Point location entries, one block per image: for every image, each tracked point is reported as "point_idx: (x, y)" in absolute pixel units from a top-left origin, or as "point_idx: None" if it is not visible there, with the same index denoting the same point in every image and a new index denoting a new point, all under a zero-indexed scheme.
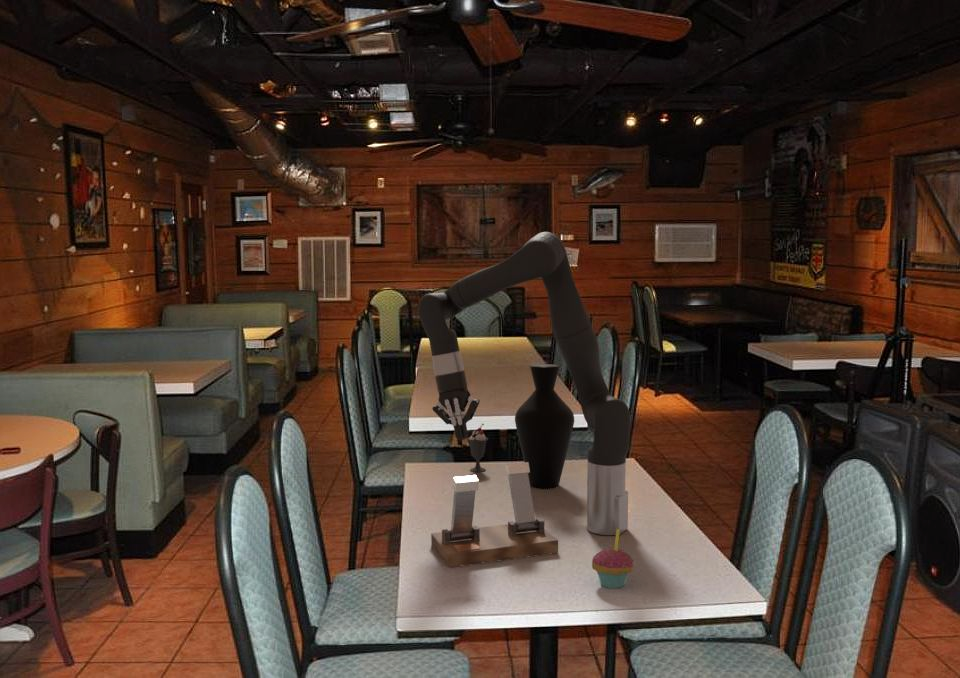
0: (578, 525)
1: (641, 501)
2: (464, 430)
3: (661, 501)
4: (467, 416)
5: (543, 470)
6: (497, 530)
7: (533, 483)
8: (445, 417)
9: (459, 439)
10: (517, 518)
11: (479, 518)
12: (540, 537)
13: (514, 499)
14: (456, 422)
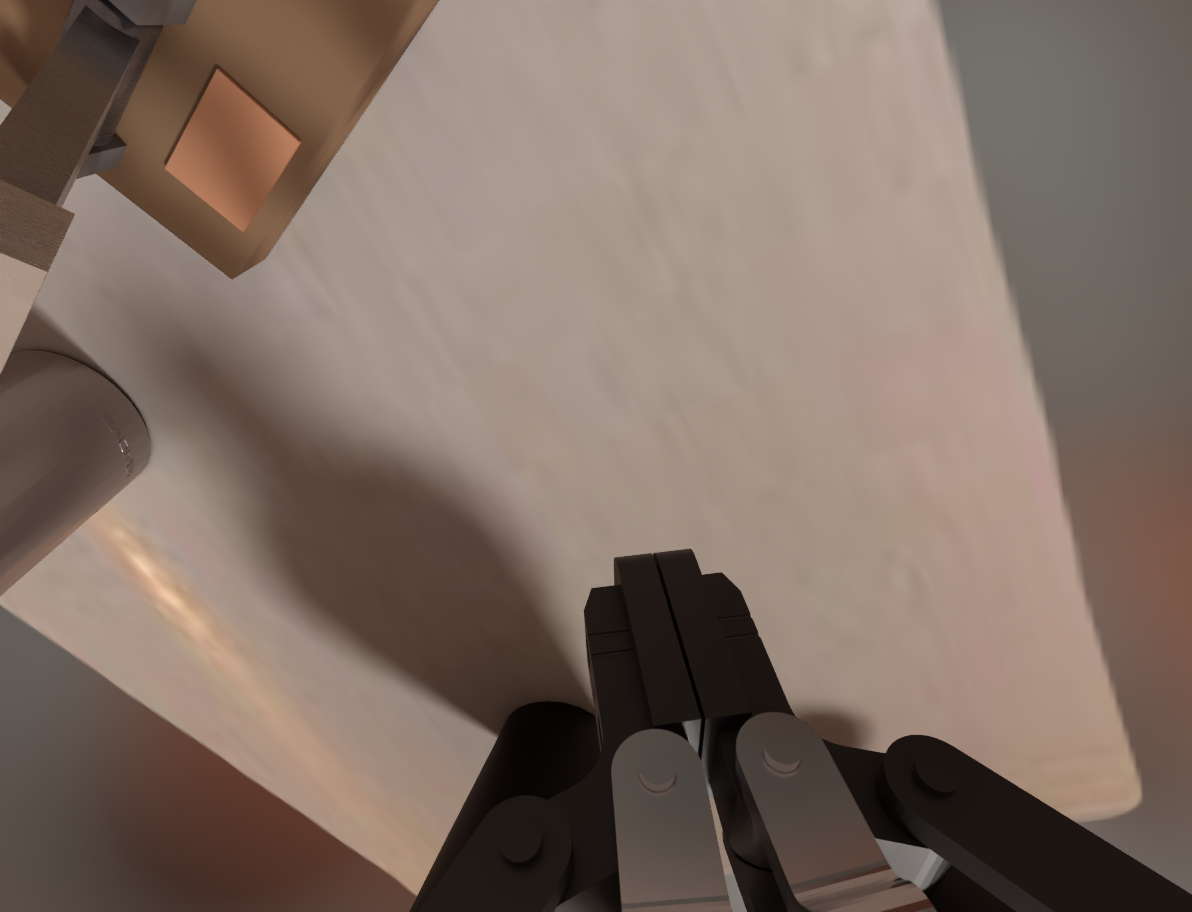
0: (186, 422)
1: (195, 687)
2: (593, 663)
3: (150, 701)
4: (470, 910)
5: (515, 765)
6: (281, 13)
7: (573, 719)
8: (1016, 874)
9: (670, 551)
10: (77, 17)
11: (605, 339)
12: (3, 16)
13: (38, 73)
14: (739, 778)
